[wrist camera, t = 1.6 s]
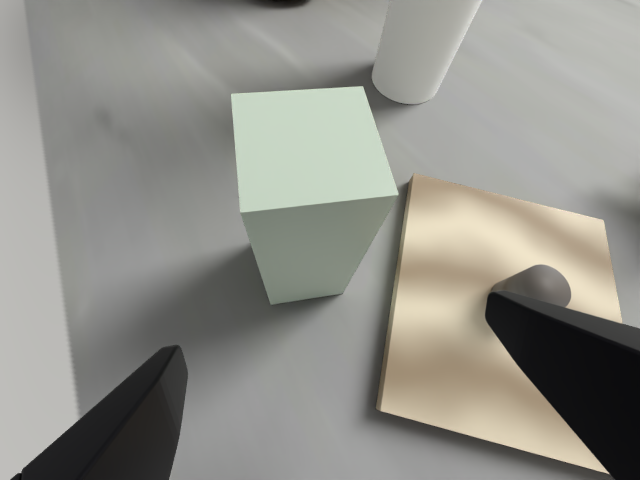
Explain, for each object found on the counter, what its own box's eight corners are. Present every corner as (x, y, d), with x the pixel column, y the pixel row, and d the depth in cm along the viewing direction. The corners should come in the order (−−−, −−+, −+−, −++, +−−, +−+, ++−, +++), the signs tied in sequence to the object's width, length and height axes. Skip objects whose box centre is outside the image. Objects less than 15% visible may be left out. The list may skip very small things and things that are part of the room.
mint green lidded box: (342, 293, 22) (398, 194, 10) (270, 304, 21) (240, 212, 9) (329, 229, 24) (362, 86, 12) (263, 238, 23) (230, 93, 11)
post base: (630, 479, 18) (732, 510, 14) (375, 408, 19) (399, 418, 15) (590, 226, 26) (648, 197, 22) (409, 181, 26) (431, 143, 22)
